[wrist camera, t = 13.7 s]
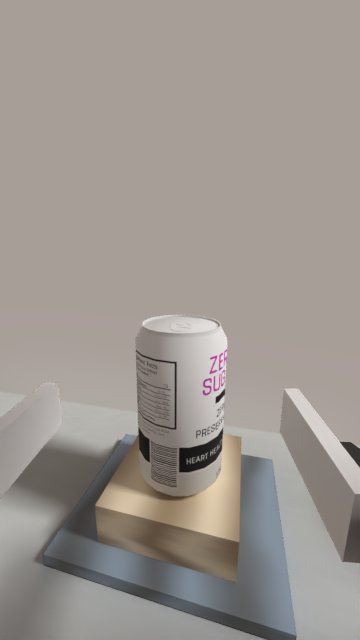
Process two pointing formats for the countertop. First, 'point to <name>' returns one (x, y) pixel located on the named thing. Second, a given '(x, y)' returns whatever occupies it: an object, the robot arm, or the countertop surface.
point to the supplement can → (180, 402)
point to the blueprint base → (189, 587)
